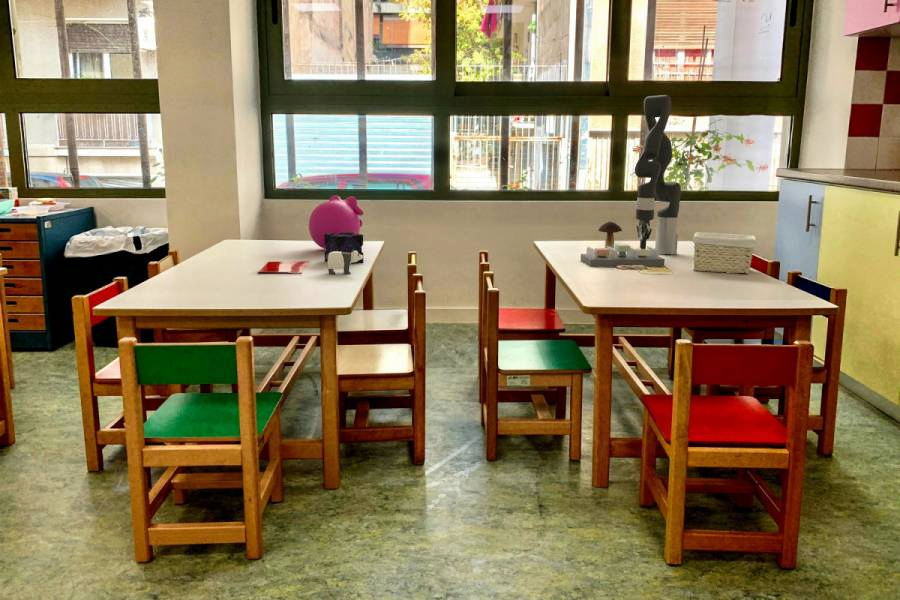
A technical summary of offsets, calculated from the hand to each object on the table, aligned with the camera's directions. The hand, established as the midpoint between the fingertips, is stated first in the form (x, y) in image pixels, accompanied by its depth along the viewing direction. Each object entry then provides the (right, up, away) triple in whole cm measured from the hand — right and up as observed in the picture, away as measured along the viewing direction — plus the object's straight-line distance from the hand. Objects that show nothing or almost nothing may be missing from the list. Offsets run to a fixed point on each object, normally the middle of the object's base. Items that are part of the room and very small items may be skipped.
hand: (642, 248), depth 334 cm
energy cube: (-128, -6, -5) cm, 128 cm away
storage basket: (+29, -10, -14) cm, 34 cm away
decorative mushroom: (-9, -1, +28) cm, 29 cm away
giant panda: (-125, -12, -32) cm, 129 cm away
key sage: (-9, -3, 0) cm, 10 cm away
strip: (-8, -9, -12) cm, 17 cm away
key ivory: (0, -5, +1) cm, 5 cm away
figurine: (-137, +1, +29) cm, 140 cm away
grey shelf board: (-9, -6, 0) cm, 11 cm away
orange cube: (-18, -5, -1) cm, 19 cm away
